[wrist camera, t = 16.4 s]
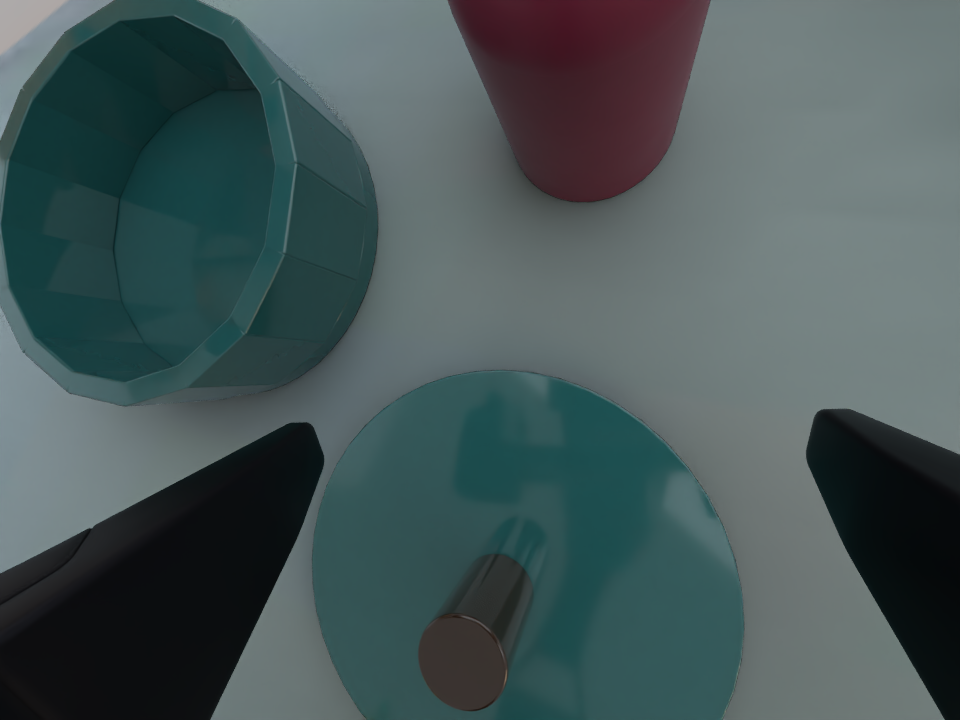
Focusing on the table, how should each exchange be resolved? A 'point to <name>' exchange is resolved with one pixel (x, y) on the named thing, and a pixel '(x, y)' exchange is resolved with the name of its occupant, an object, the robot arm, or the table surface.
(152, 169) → the pot
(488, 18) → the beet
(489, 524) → the pot lid
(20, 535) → the table surface
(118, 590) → the robot arm
